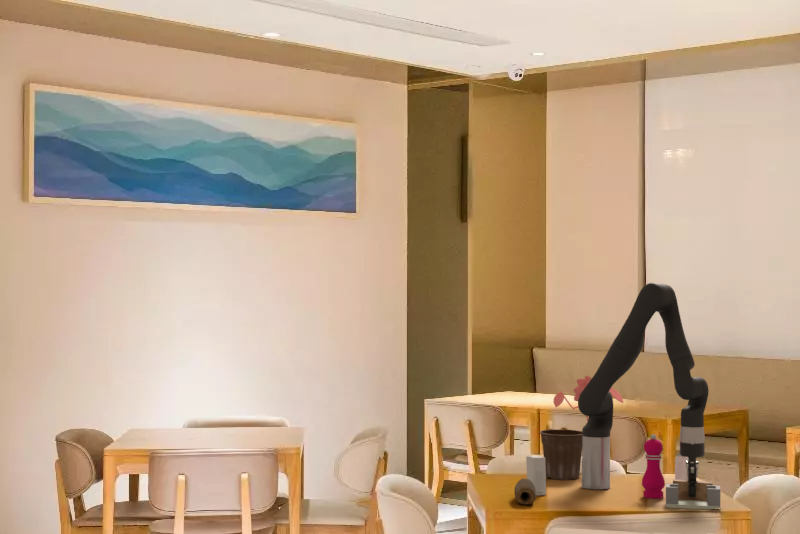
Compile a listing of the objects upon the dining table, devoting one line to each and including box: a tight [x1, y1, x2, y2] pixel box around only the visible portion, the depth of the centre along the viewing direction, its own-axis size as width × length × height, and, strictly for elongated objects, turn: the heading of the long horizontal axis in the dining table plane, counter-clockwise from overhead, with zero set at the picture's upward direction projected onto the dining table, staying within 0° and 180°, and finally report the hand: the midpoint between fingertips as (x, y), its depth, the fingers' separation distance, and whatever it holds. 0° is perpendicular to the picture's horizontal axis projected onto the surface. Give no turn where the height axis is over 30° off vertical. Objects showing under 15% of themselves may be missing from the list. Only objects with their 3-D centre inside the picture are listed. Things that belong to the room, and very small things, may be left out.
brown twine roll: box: [514, 478, 537, 505], centre depth 364 cm, size 15×7×7 cm, turn 179°
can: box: [674, 453, 688, 480], centre depth 386 cm, size 6×6×12 cm
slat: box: [672, 478, 714, 501], centre depth 367 cm, size 12×3×6 cm, turn 77°
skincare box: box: [525, 454, 547, 496], centre depth 379 cm, size 6×4×12 cm
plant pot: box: [539, 429, 583, 481], centre depth 415 cm, size 16×16×16 cm
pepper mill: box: [641, 433, 666, 500], centre depth 375 cm, size 7×7×20 cm
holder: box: [665, 483, 721, 510], centre depth 359 cm, size 16×9×6 cm, turn 77°
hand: (692, 495), depth 367 cm, fingers closed on slat, 3 cm apart
